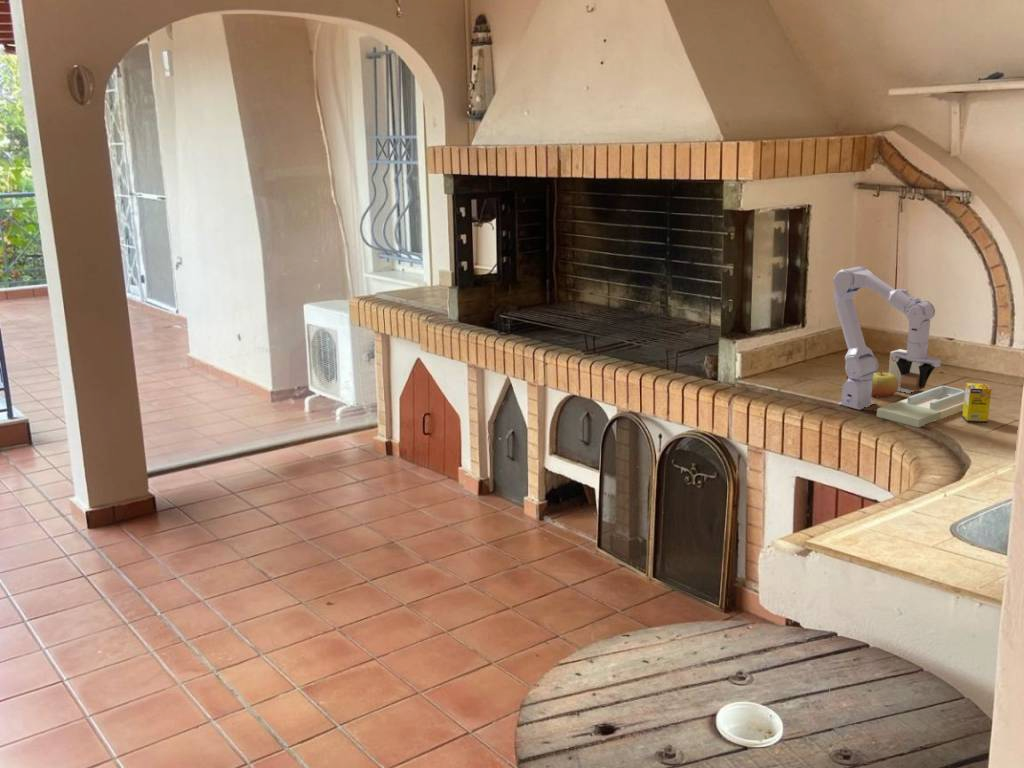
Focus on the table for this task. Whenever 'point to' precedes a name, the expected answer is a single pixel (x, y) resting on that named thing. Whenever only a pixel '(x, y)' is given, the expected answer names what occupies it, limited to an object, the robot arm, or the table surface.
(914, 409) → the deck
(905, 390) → the small box
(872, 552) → the table surface
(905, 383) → the block
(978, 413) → the supplement box
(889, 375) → the apple
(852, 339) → the robot arm
